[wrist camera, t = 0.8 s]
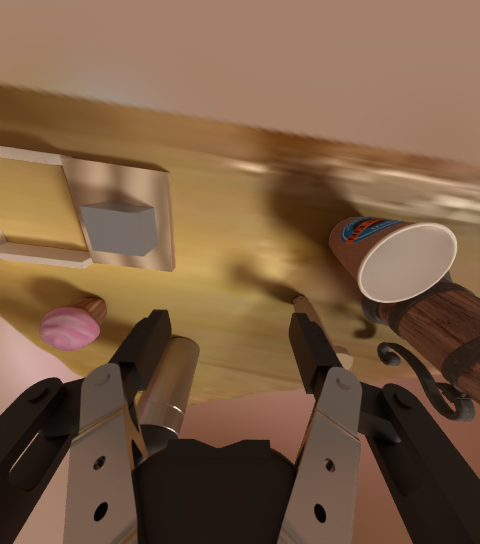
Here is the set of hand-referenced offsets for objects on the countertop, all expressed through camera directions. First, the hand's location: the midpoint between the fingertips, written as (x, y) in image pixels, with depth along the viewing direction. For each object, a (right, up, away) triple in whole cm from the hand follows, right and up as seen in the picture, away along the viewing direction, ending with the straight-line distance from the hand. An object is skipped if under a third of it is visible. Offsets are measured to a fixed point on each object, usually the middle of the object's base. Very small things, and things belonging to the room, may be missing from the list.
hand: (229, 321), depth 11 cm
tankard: (+35, -5, +27) cm, 45 cm away
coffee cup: (+20, +10, +19) cm, 29 cm away
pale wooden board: (-18, +12, +18) cm, 28 cm away
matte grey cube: (-16, +11, +16) cm, 26 cm away
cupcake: (-31, -4, +27) cm, 41 cm away
